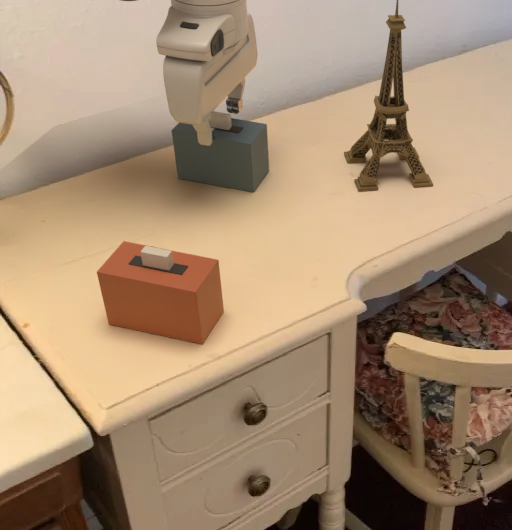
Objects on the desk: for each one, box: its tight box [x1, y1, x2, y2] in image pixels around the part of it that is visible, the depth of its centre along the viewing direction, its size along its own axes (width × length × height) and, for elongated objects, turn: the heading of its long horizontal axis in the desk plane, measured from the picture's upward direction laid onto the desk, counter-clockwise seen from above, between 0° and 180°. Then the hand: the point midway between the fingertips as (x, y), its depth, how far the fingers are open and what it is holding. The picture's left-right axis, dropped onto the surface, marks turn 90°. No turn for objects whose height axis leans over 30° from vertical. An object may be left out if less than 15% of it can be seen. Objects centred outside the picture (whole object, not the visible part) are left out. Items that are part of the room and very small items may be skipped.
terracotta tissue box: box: [96, 240, 225, 345], centre depth 89 cm, size 11×6×9 cm, turn 76°
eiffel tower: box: [343, 0, 434, 192], centre depth 109 cm, size 11×11×25 cm
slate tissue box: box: [171, 110, 270, 193], centre depth 112 cm, size 11×6×9 cm, turn 75°
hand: (221, 126), depth 110 cm, fingers open, 8 cm apart
